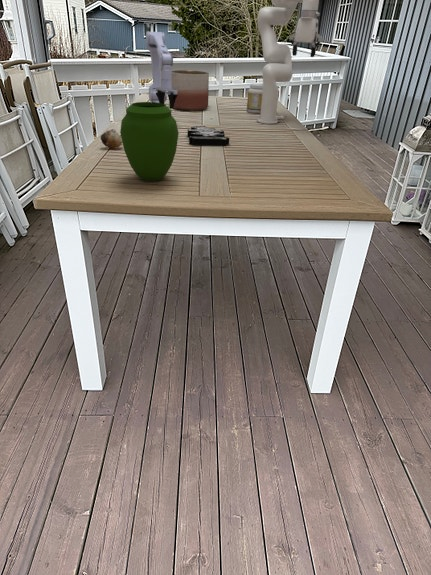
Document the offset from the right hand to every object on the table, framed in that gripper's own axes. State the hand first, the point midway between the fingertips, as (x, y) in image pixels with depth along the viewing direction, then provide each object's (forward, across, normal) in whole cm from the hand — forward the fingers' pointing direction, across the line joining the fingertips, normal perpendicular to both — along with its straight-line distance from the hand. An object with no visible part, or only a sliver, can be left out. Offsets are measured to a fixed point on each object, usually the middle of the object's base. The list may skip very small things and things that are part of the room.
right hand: (303, 56), depth 205 cm
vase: (+37, +2, +111) cm, 117 cm away
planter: (+37, +87, -20) cm, 97 cm away
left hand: (+28, +60, +35) cm, 75 cm away
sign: (+37, +26, +45) cm, 64 cm away
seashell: (+37, +44, +91) cm, 108 cm away
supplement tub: (+37, +49, -45) cm, 76 cm away
